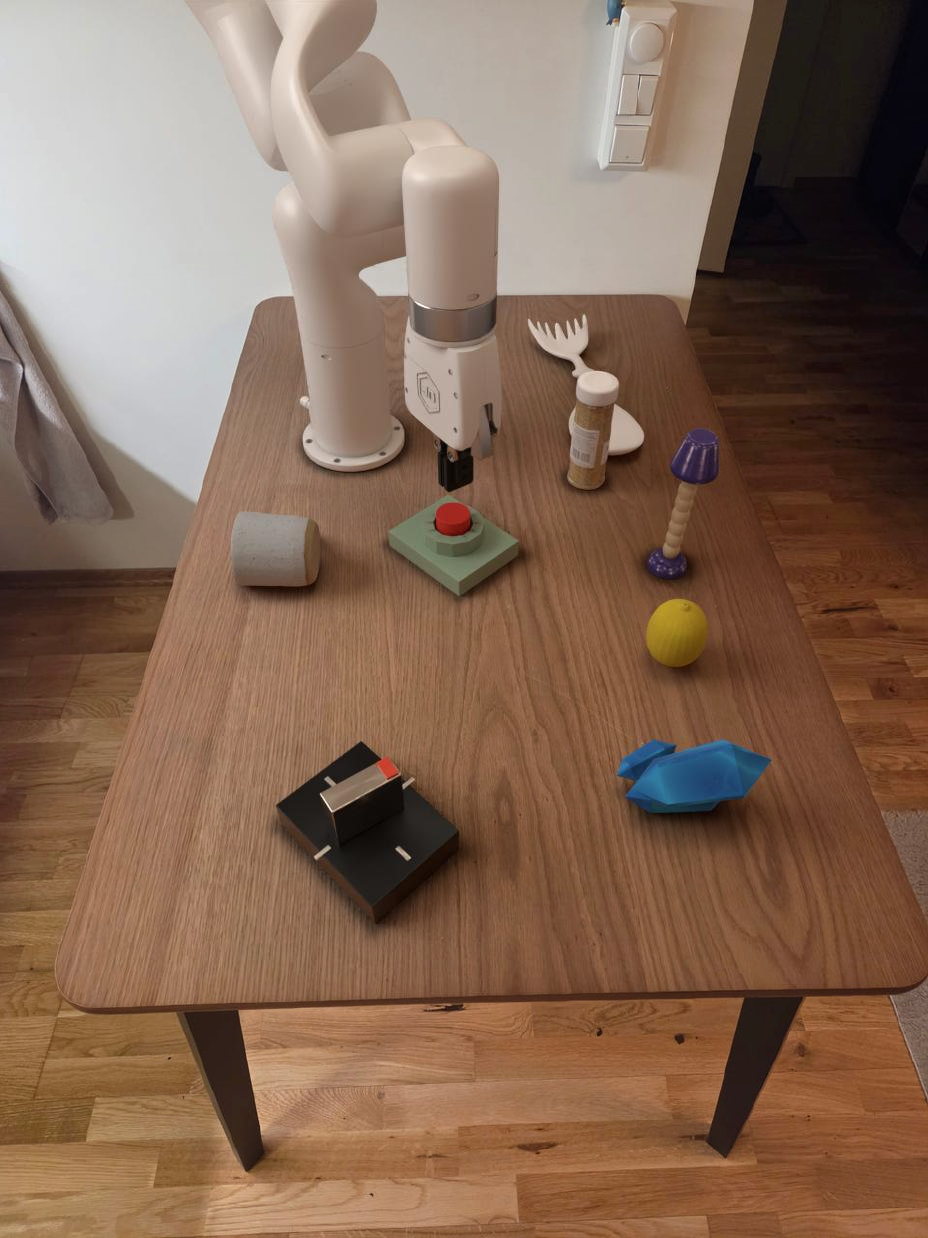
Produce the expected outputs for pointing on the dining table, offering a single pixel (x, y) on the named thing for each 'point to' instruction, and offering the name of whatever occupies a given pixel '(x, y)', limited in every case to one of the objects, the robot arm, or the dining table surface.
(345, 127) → the robot arm
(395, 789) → the silver block red tip
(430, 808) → the knob panel
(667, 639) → the lemon
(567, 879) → the dining table surface
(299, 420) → the dining table surface
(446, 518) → the red button
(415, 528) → the button block
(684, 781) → the crystal
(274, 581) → the grey cylinder
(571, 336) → the white salad fork spoon
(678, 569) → the toy lamp
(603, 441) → the sprinkles bottle
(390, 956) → the dining table surface
